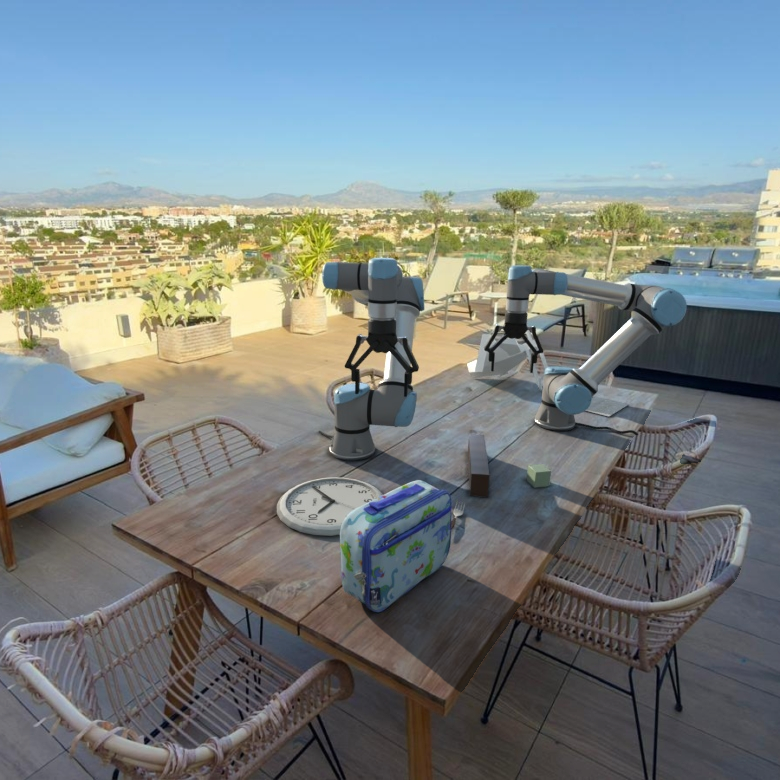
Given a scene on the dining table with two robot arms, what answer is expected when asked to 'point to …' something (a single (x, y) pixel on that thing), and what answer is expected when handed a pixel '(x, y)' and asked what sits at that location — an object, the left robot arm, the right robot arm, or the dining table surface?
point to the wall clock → (323, 504)
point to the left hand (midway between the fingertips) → (381, 394)
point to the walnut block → (478, 466)
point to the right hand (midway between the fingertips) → (511, 371)
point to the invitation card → (604, 406)
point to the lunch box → (394, 543)
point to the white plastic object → (504, 358)
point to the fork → (457, 514)
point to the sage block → (538, 475)
